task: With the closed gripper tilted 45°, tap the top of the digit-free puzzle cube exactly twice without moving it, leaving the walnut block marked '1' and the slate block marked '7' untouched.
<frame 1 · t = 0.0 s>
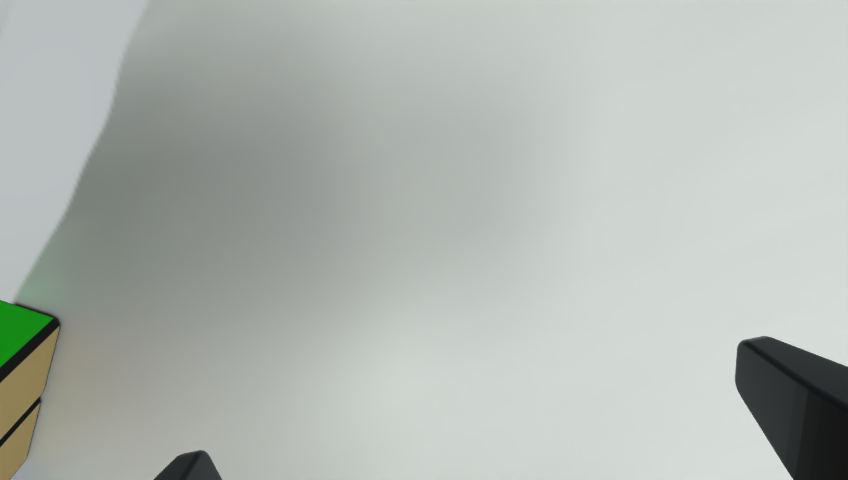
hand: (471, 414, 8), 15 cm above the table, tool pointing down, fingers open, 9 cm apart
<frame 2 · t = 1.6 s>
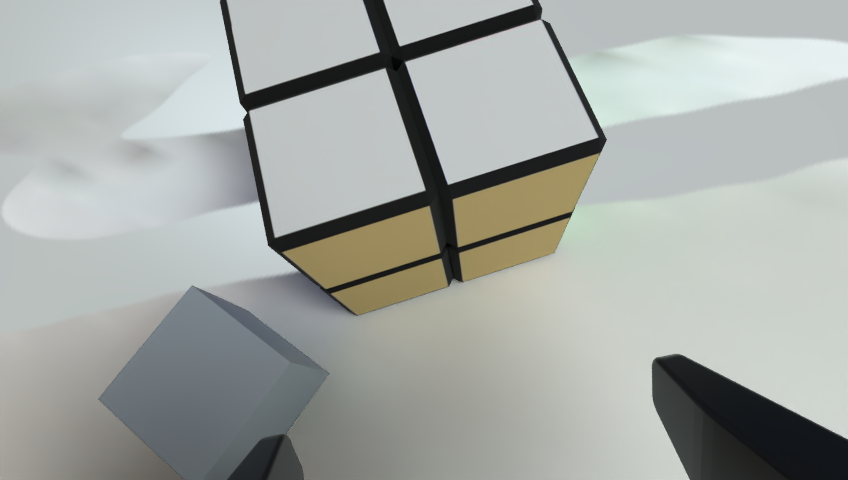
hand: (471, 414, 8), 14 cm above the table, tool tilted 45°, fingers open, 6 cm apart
puzzle cube: (425, 193, 25), on the table
slate block 7: (252, 388, 23), on the table
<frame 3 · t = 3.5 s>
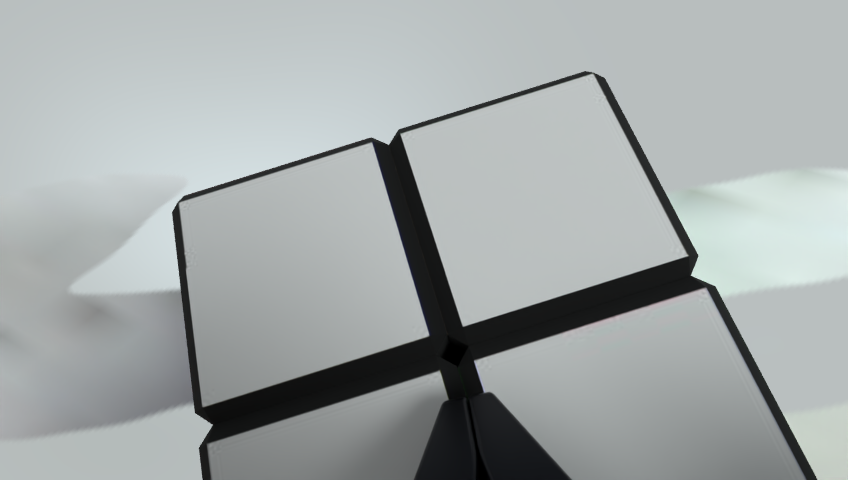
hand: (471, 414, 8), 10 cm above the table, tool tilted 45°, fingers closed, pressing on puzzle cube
puzzle cube: (466, 388, 19), on the table, touching gripper
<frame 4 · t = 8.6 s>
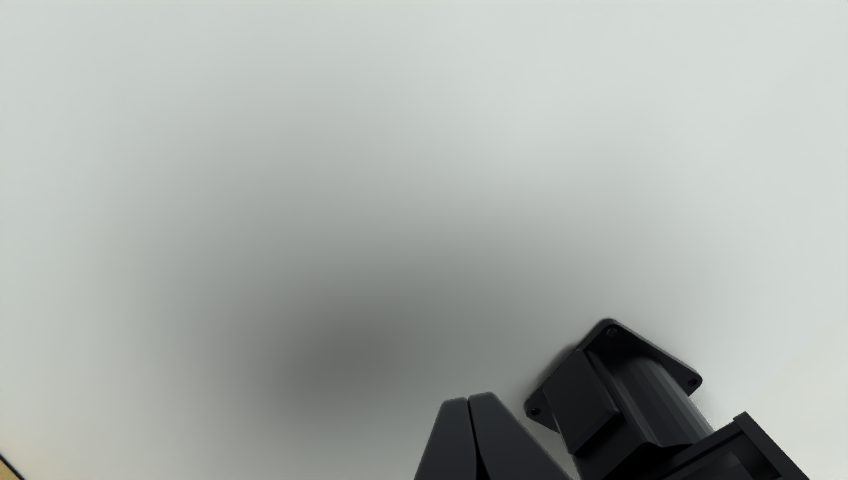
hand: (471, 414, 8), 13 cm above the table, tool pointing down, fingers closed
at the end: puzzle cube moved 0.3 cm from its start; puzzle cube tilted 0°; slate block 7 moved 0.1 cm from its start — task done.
